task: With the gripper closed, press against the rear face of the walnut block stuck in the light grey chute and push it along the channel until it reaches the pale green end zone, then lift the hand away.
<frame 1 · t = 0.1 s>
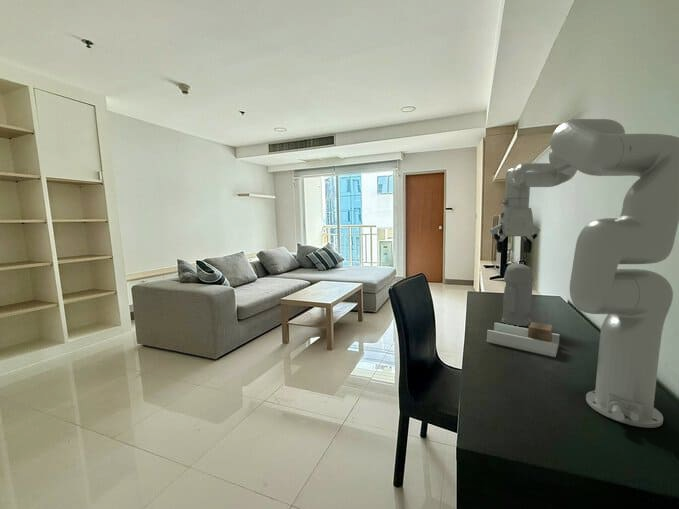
hand: (513, 252, 110), 31 cm above the table, tool pointing down, fingers open, 9 cm apart
unidentifiable: (516, 322, 130), on the table
walnut block: (539, 334, 103), point 4 cm above the table, slide at 0.0 cm
chute: (522, 343, 107), on the table
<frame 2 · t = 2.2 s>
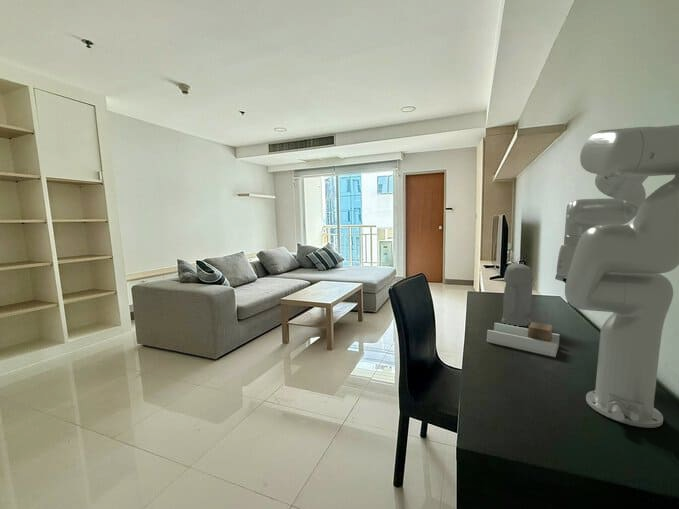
hand: (574, 299, 97), 18 cm above the table, tool pointing down, fingers closed
nothing on the table moved.
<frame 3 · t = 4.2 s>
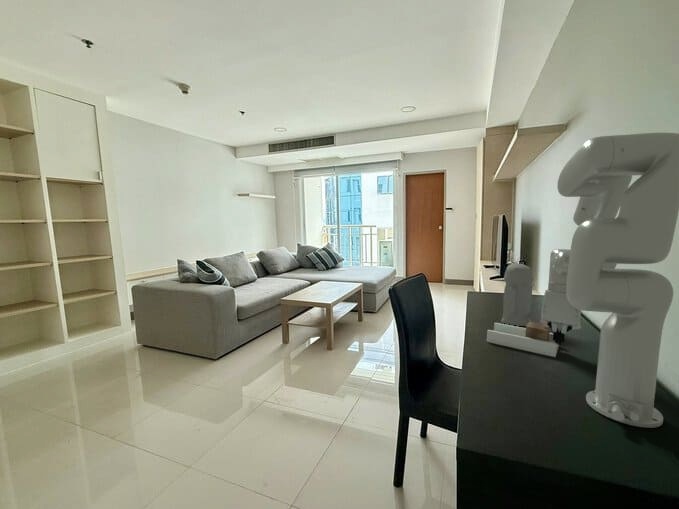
hand: (558, 343, 100), 3 cm above the table, tool pointing down, fingers closed
walnut block: (537, 334, 104), point 4 cm above the table, slide at 0.7 cm, touching gripper
everything else where it was.
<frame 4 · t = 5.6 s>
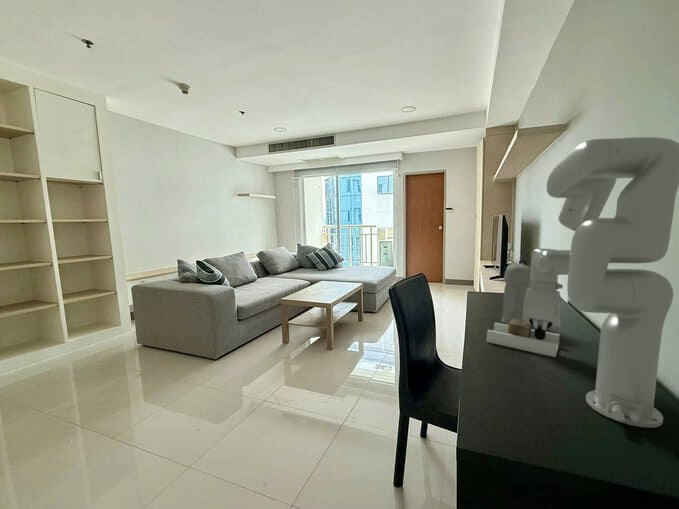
hand: (539, 339, 104), 3 cm above the table, tool pointing down, fingers closed
walnut block: (519, 331, 107), point 4 cm above the table, slide at 5.9 cm, touching gripper
everything else where it was.
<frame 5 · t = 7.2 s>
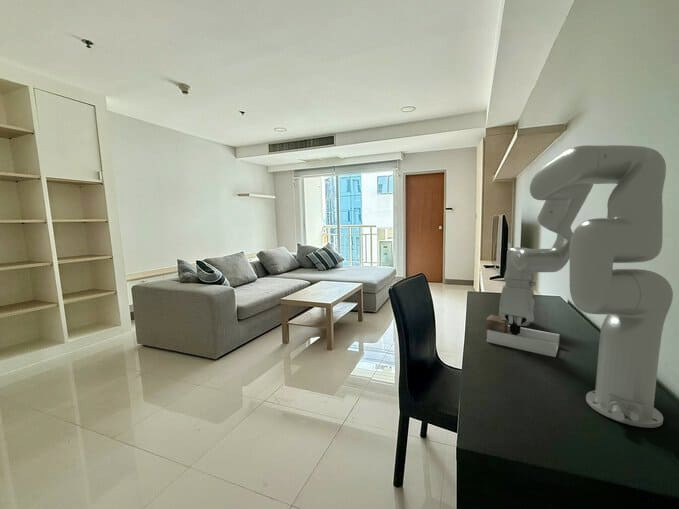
hand: (514, 334, 108), 3 cm above the table, tool pointing down, fingers closed
walnut block: (496, 326, 112), point 4 cm above the table, slide at 13.2 cm, touching gripper
everything else where it was.
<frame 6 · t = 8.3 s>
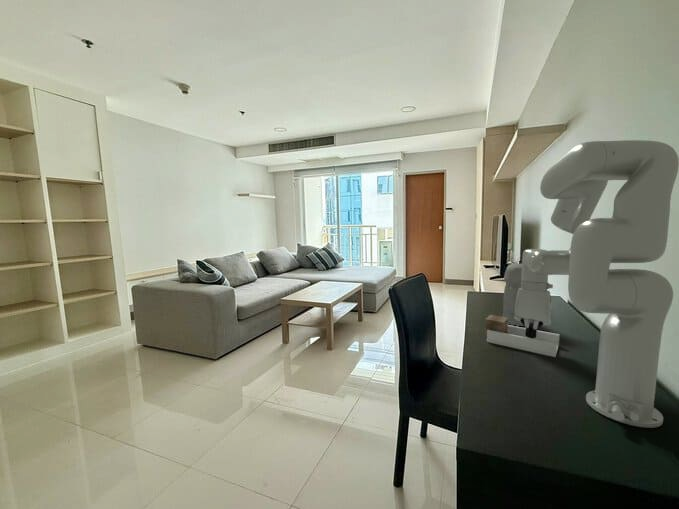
hand: (530, 339, 105), 2 cm above the table, tool pointing down, fingers closed
walnut block: (496, 326, 112), point 4 cm above the table, slide at 13.4 cm
everything else where it was.
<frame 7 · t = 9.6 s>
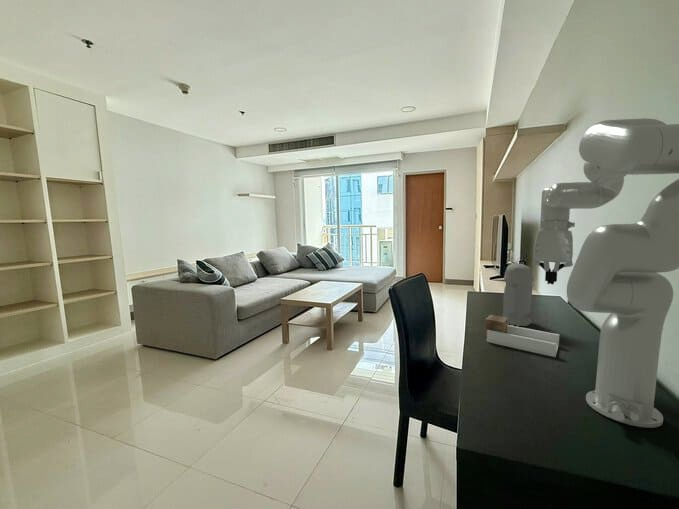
hand: (550, 283, 99), 22 cm above the table, tool pointing down, fingers closed
nothing on the table moved.
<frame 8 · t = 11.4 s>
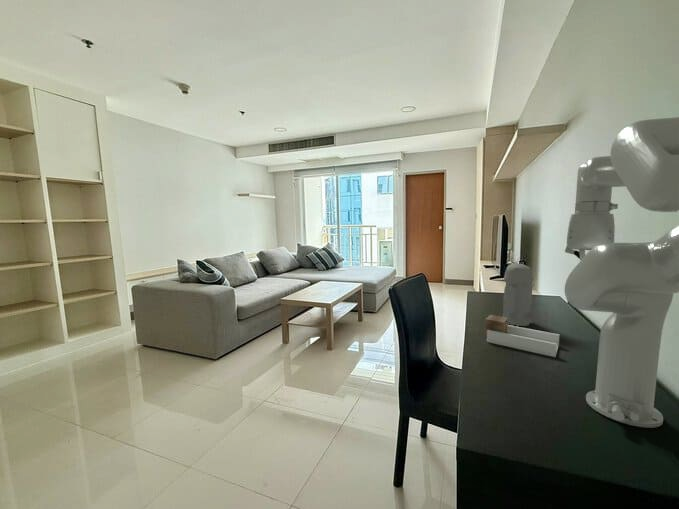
hand: (586, 274, 86), 27 cm above the table, tool pointing down, fingers closed
nothing on the table moved.
at the end: walnut block slide at 13.4 cm; walnut block touching nothing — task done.
